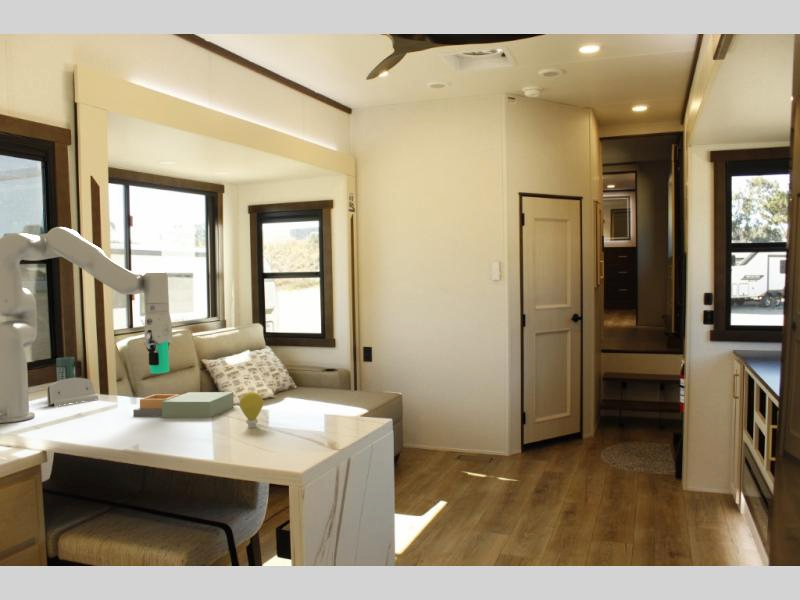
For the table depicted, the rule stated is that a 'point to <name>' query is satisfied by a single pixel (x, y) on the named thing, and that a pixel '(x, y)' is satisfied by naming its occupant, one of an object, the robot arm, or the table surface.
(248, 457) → the table surface
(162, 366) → the candle
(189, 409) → the desk organizer
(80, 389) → the hinge
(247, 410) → the light bulb
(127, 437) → the table surface
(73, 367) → the can
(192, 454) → the table surface
